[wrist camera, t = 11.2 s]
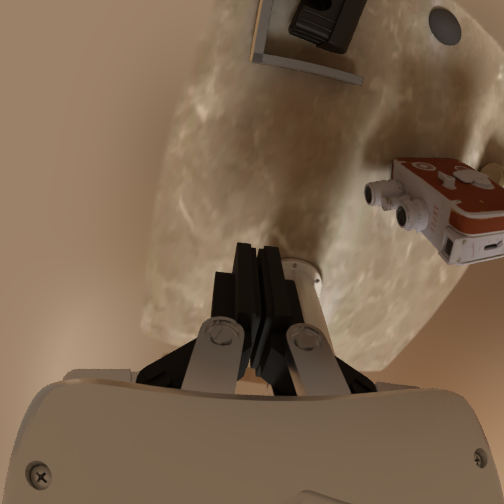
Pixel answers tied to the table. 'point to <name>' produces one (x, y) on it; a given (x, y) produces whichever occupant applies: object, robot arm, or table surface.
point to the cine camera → (445, 207)
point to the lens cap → (445, 26)
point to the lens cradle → (289, 63)
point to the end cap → (327, 22)
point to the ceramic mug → (494, 173)
